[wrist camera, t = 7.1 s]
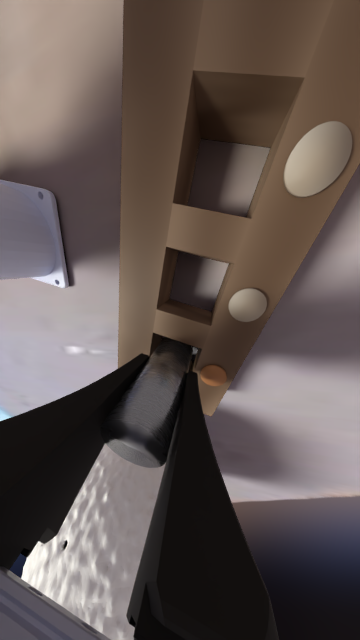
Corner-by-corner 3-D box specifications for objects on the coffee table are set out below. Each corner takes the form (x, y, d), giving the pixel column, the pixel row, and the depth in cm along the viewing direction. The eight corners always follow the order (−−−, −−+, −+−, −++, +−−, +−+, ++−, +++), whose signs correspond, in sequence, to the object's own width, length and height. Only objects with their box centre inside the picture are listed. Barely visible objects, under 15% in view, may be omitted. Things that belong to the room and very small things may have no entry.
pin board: (133, 360, 16) (116, 381, 13) (160, 44, 7) (120, -120, 4) (211, 389, 15) (211, 418, 12) (381, 53, 5) (564, -177, 3)
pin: (158, 358, 12) (103, 450, 6) (161, 331, 11) (96, 410, 5) (189, 366, 12) (163, 476, 6) (195, 339, 11) (171, 438, 5)
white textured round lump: (123, 367, 17) (-307, 853, 3) (248, 428, 16) (506, 1664, 2) (108, 433, 26) (-18, 634, 12) (188, 475, 25) (154, 754, 11)
